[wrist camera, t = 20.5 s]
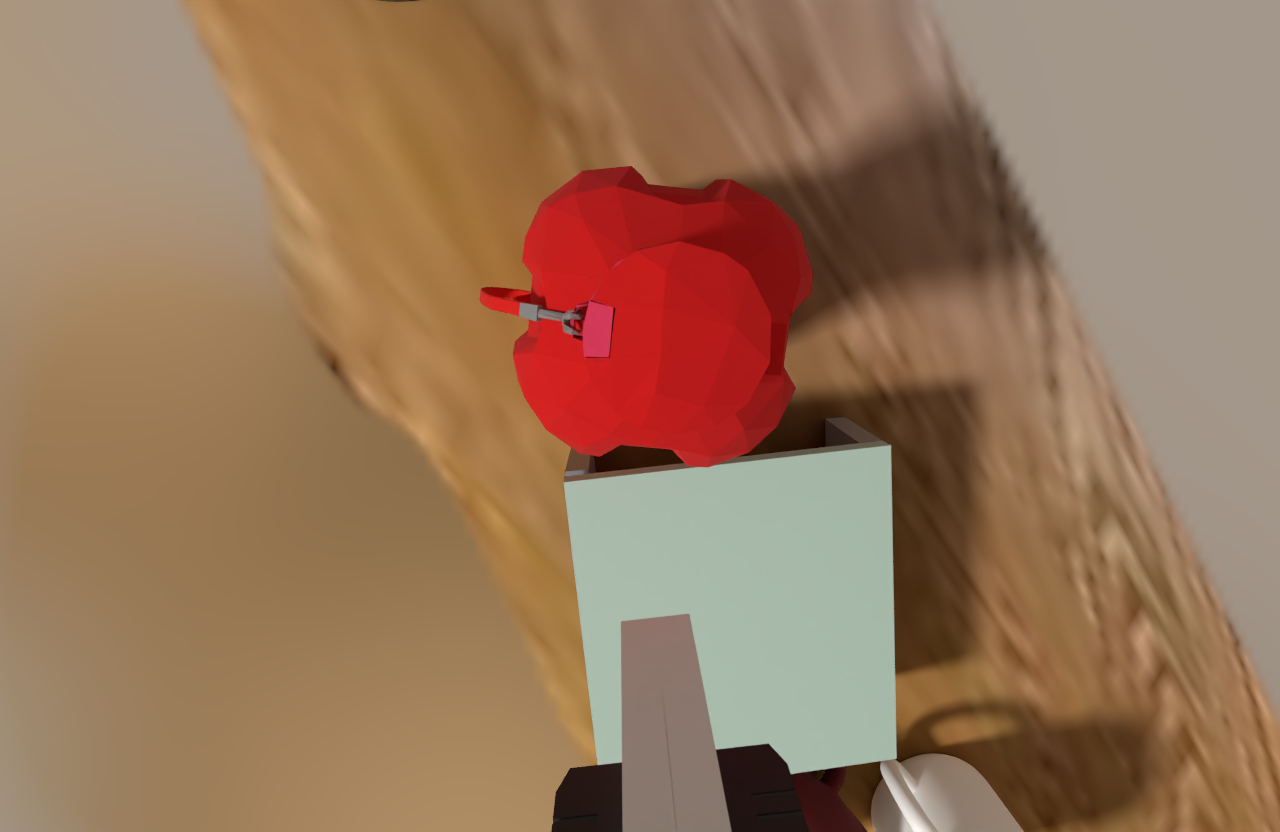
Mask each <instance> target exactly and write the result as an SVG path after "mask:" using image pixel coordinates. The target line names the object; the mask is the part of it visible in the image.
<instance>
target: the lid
mask: <svg viewBox="0 0 1280 832" xmlns="http://www.w3.org/2000/svg"><path fill="white" fill-rule="evenodd" d="M564 489H565V497H566V506H567V514H568V522H569V531H570V539H571V547H572V556H573V564H574V572H575V580H576V589H577V597H578V605H579V614H580V622H581V630H582V639H583V647H584V655H585V664H586V672H587V680H588V689H589V697H590V705H591V714H592V722H593V730H594V738H595V747H596V755H597V763H598V765H603V764H612V763H620V762H622V703H621V621H628V620H637V619H646V618H654V617H663V616H672V615H681V614H690V620H691V625H692V630H693V635H694V640H695V645H696V651H697V656H698V661H699V666H700V671H701V676H702V681H703V687H704V692H705V697H706V702H707V707H708V712H709V718H710V723H711V728H712V733H713V738H714V743H715V749H725V748H734V747H742V746H751V745H760V744H768V743H769V744H770V746H771V747H772V748H773V749H774V750H775V751H776V752H777V753H778V754H779V755H780V756H781V757H782V758H783V760H784V761H785V762H786V763H787V764H788V767H789V770H790V773H791V774H794V773H801V772H808V771H815V770H822V769H829V768H836V767H843V766H850V765H857V764H864V763H871V762H878V761H885V760H892V759H897V752H896V696H895V640H894V584H893V529H892V473H891V445H890V444H888V443H886V442H884V441H874V442H865V443H857V444H848V445H839V446H830V447H821V448H812V449H804V450H795V451H786V452H777V453H768V454H759V455H750V456H742V457H735V458H733V459H730V460H727V461H725V462H722V463H719V464H717V465H714V466H711V467H708V468H707V467H692V466H688V465H687V464H686V463H680V464H671V465H662V466H653V467H644V468H635V469H627V470H618V471H609V472H600V473H591V474H582V475H573V476H565V477H564Z"/></svg>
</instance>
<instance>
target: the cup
mask: <svg viewBox="0 0 1280 832" xmlns="http://www.w3.org/2000/svg"><path fill="white" fill-rule="evenodd" d="M880 770H881V773H882V775H883V778H882V779H881V781H880V782H879V784H878V786H877V788H876V790H875V793H874V795H873V799H872V804H871V820H872V825H873V828H874V831H875V832H1024V831H1023V830H1022V829H1021V827H1020V826H1019V824H1018V823H1017V822H1016V820H1015V819H1014V818H1013V816H1012V815H1011V813H1010V812H1009V811H1008V809H1007V808H1006V807H1005V805H1004V804H1003V802H1002V801H1001V800H1000V798H999V797H998V796H997V794H996V793H995V791H994V790H993V789H992V787H991V786H990V785H989V783H988V782H987V781H986V780H985V778H984V777H983V776H982V775H981V774H980V773H979V772H978V771H977V770H976V769H975V768H974V767H973V766H971V765H970V764H968V763H966V762H965V761H963V760H961V759H959V758H956V757H953V756H949V755H945V754H936V753H931V754H922V755H917V756H914V757H911V758H909V759H906V760H904V761H902V762H900V763H899V762H898V761H897V760H895V759H892V760H885V761H881V764H880Z"/></svg>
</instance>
